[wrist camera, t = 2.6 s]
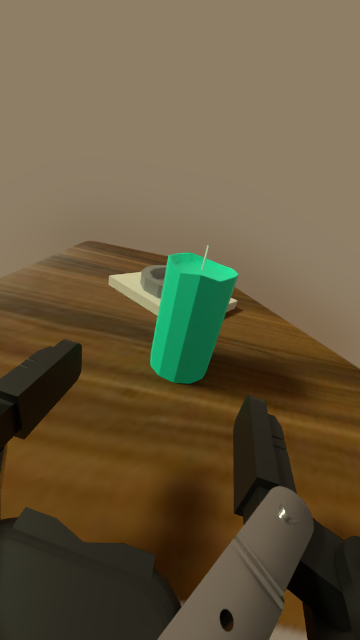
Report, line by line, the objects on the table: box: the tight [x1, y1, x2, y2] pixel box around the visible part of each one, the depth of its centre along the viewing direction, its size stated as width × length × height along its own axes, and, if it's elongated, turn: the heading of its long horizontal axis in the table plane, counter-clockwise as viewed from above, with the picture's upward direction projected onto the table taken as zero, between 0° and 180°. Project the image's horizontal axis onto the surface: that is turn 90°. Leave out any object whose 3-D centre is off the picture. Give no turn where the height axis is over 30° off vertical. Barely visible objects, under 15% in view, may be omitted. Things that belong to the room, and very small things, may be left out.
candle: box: [151, 246, 238, 384], centre depth 22 cm, size 6×6×12 cm
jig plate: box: [109, 265, 237, 316], centre depth 38 cm, size 16×14×4 cm
